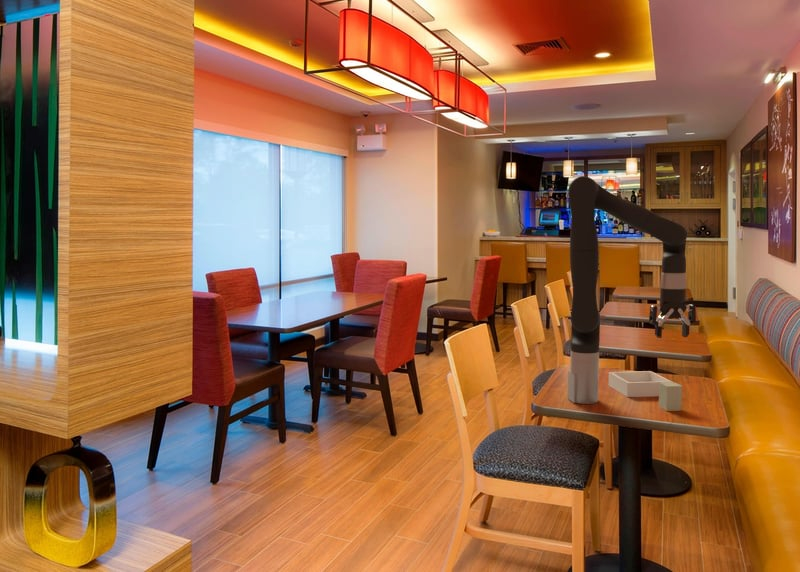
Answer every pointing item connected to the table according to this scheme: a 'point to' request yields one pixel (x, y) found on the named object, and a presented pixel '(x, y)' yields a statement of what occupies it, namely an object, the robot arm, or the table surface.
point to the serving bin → (636, 383)
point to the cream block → (670, 396)
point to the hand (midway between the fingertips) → (671, 337)
